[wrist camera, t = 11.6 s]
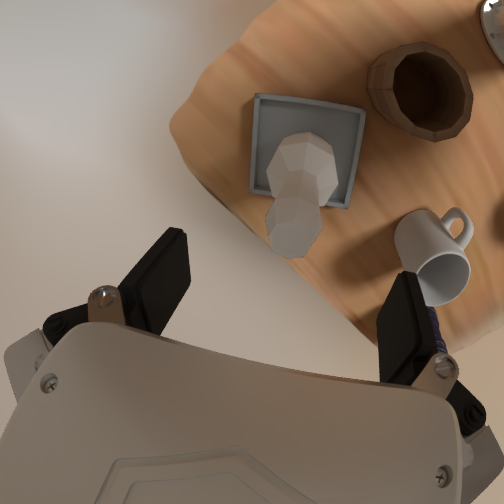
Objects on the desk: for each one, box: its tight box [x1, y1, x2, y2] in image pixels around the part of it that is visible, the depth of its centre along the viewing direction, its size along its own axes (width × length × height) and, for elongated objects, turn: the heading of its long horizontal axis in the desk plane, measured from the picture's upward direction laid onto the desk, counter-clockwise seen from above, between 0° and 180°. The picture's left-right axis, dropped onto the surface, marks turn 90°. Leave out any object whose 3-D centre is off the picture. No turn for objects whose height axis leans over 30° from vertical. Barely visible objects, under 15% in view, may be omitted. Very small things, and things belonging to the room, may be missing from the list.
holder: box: [366, 42, 473, 142], centre depth 22 cm, size 10×10×9 cm
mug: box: [394, 207, 474, 307], centre depth 31 cm, size 12×8×11 cm
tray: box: [249, 93, 367, 209], centre depth 33 cm, size 13×13×2 cm
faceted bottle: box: [265, 131, 338, 259], centre depth 24 cm, size 6×6×22 cm
